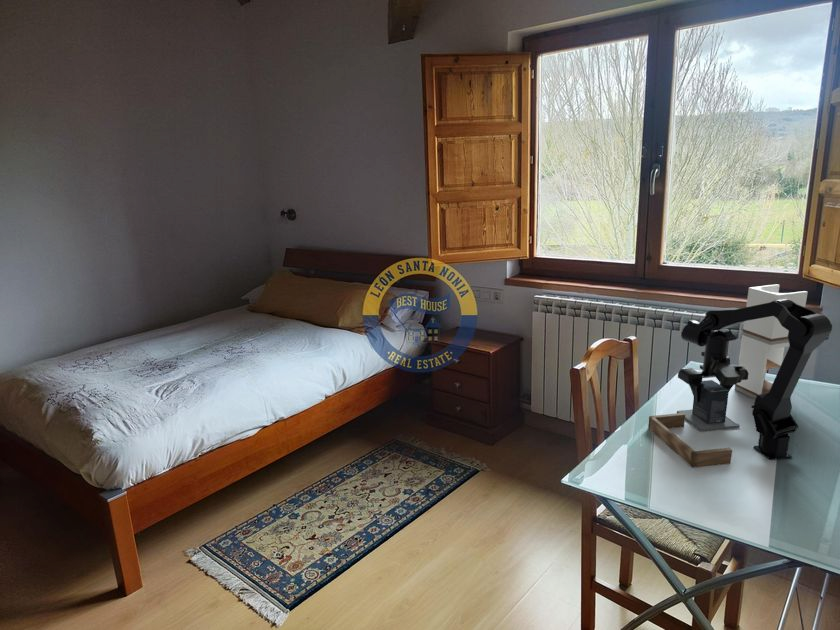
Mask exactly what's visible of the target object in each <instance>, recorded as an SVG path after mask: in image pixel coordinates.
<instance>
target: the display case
mask: <svg viewBox="0 0 840 630" xmlns="http://www.w3.org/2000/svg"><path fill="white" fill-rule="evenodd" d="M808 293H809V291H806V290H803V291H795V292H780V284H776V283H774V284H767V285H760V286H759V285H758V286H751V287H748V292H747V300H746V305H745V307H750V306H755V305H760V304H764V303H769V302H772V301H774V300H780V299H789V300H791V301H793V302H794V303H796V304H798V305H800V306H803V307H806V304H807V298H808ZM788 332H789V331H788V330H787V329H786V328H784V327H783V326H782V325H781V324H780V322H779V321H778V319H777V318H776V317H774V316H770V317H765V318H759V319H753V320H748V321H744V322H743V327H742V334H741V342H740V348H739V357H738V364H737V365H739V366H743V367H744V368H745V369H746V370H747V371H748V373H749V375H748V380H741V382H740V383H737V384H736V385H734V390H735V391H737V392H739V393H742V394H744V395H745V396H747V397H749V398H752V399H754V400H756V397H757V395H760V394H764V393H768V392H769V391H770V389H771V386H772V384H773V382H771V381H768V380H766V375H767V371H768V370H773V369H778V368H779V369H780V366H781V364H782V362H783V360H784V354H785V353H784V352H785V348H787V347H788V348H789V340H788Z"/></svg>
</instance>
